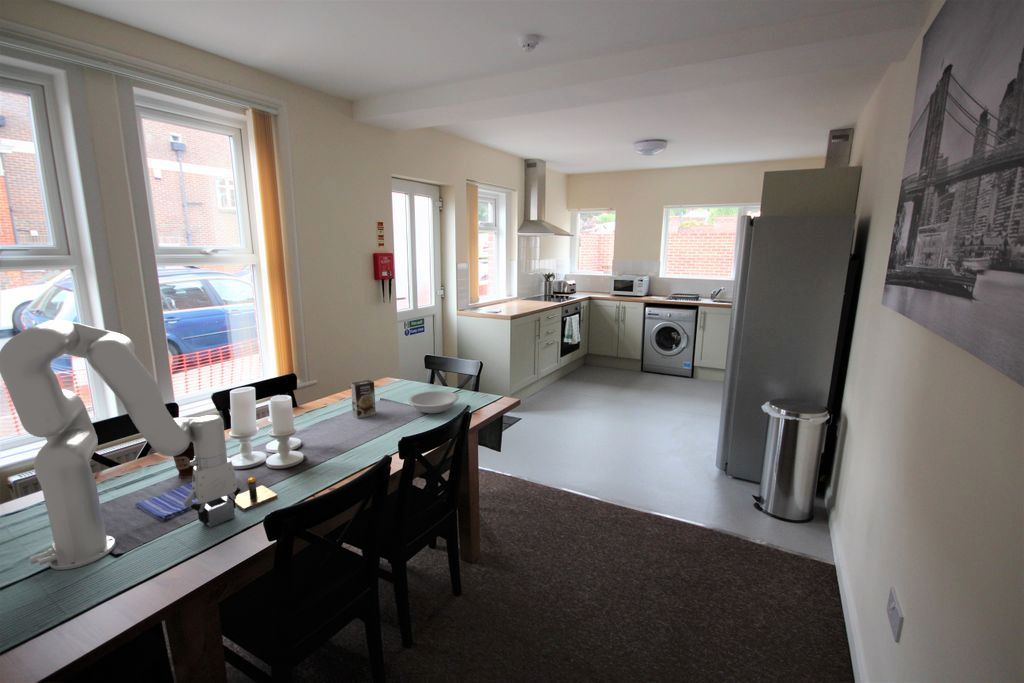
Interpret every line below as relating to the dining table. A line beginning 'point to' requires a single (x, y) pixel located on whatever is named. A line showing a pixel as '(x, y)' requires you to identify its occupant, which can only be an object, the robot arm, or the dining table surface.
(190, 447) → the coffee cup
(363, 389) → the coffee box
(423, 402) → the soup bowl
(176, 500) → the dish towel
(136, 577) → the dining table surface
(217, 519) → the white box block
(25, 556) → the dining table surface
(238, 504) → the post
